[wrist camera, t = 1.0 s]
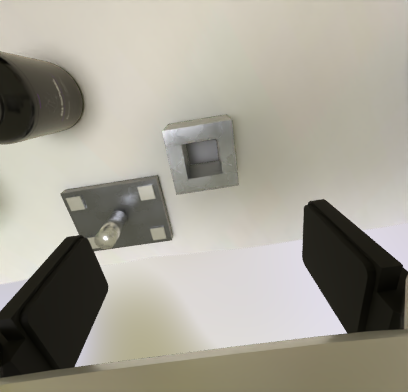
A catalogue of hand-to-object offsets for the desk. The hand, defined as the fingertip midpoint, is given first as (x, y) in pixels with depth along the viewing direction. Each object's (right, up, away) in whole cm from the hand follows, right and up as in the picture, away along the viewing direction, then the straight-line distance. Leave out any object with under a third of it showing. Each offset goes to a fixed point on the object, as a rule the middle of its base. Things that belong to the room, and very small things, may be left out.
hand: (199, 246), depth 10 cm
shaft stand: (-11, 0, +21) cm, 23 cm away
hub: (0, +8, +17) cm, 19 cm away
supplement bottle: (-16, +13, +15) cm, 25 cm away
